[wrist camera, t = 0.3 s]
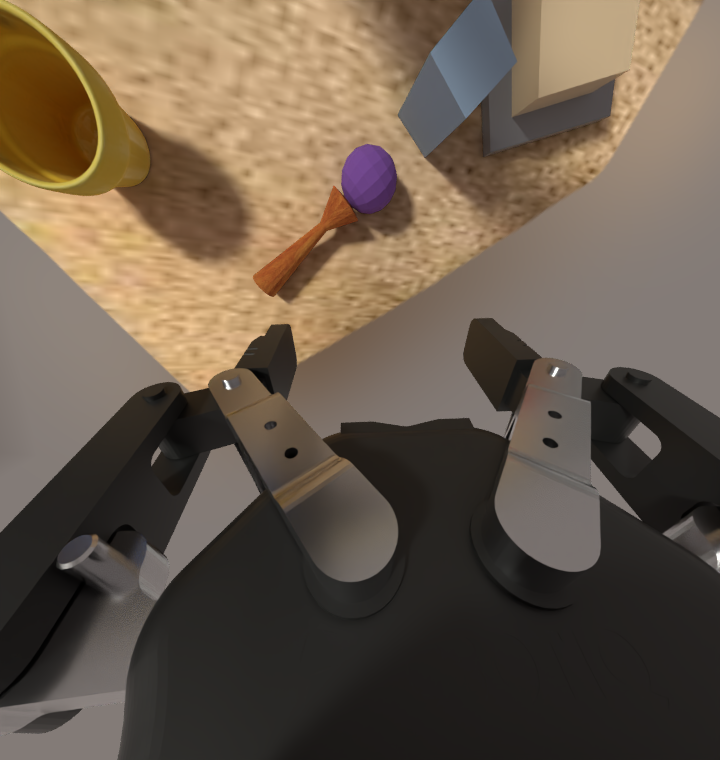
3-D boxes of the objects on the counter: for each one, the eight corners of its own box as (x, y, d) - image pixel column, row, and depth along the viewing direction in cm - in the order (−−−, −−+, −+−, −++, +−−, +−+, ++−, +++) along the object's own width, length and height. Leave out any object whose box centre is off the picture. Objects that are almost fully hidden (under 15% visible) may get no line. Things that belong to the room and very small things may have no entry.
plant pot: (147, 230, 30) (75, 221, 22) (40, 154, 27) (-99, 107, 18) (188, 144, 28) (125, 94, 19) (75, 46, 24) (-69, -73, 15)
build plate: (476, -27, 25) (513, -95, 20) (619, -72, 25) (693, -153, 20) (483, 156, 31) (513, 138, 26) (597, 121, 31) (649, 97, 26)
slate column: (397, 115, 29) (430, 52, 20) (433, 72, 27) (484, -15, 18) (424, 157, 31) (465, 118, 22) (459, 119, 29) (517, 61, 20)
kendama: (234, 265, 30) (372, 115, 24) (257, 267, 35) (373, 146, 30) (272, 307, 31) (410, 174, 26) (288, 303, 37) (404, 193, 31)
